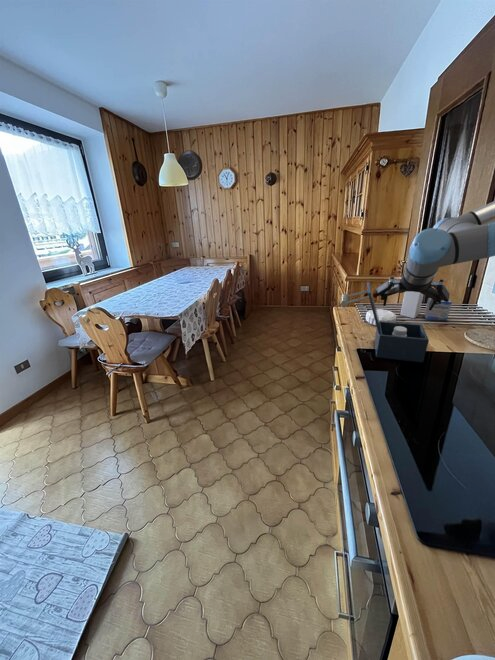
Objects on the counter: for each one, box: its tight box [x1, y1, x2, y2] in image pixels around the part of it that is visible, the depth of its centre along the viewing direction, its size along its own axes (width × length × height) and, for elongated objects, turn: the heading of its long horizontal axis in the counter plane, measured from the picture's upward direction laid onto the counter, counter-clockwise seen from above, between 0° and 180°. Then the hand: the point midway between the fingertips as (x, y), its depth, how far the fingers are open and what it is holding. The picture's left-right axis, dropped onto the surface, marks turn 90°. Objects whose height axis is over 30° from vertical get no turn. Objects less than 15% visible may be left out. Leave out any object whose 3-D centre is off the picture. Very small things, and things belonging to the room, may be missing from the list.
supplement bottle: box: [392, 326, 407, 337], centre depth 100 cm, size 5×5×8 cm
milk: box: [399, 291, 425, 319], centre depth 123 cm, size 6×6×22 cm
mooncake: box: [365, 308, 397, 327], centre depth 124 cm, size 12×12×4 cm
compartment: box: [374, 321, 430, 363], centre depth 101 cm, size 15×12×9 cm
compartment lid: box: [340, 281, 381, 334], centre depth 100 cm, size 16×12×10 cm
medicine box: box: [423, 297, 453, 322], centre depth 122 cm, size 8×4×9 cm, turn 73°
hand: (406, 304), depth 96 cm, fingers open, 13 cm apart
